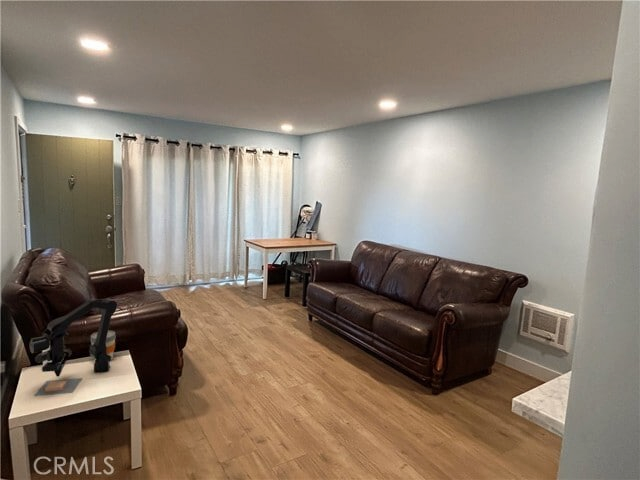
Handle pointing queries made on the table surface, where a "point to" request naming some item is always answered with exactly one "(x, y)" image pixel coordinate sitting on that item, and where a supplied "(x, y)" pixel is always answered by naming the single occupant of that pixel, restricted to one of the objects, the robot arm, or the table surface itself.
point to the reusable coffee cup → (107, 342)
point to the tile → (56, 386)
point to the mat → (68, 388)
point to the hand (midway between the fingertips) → (58, 376)
